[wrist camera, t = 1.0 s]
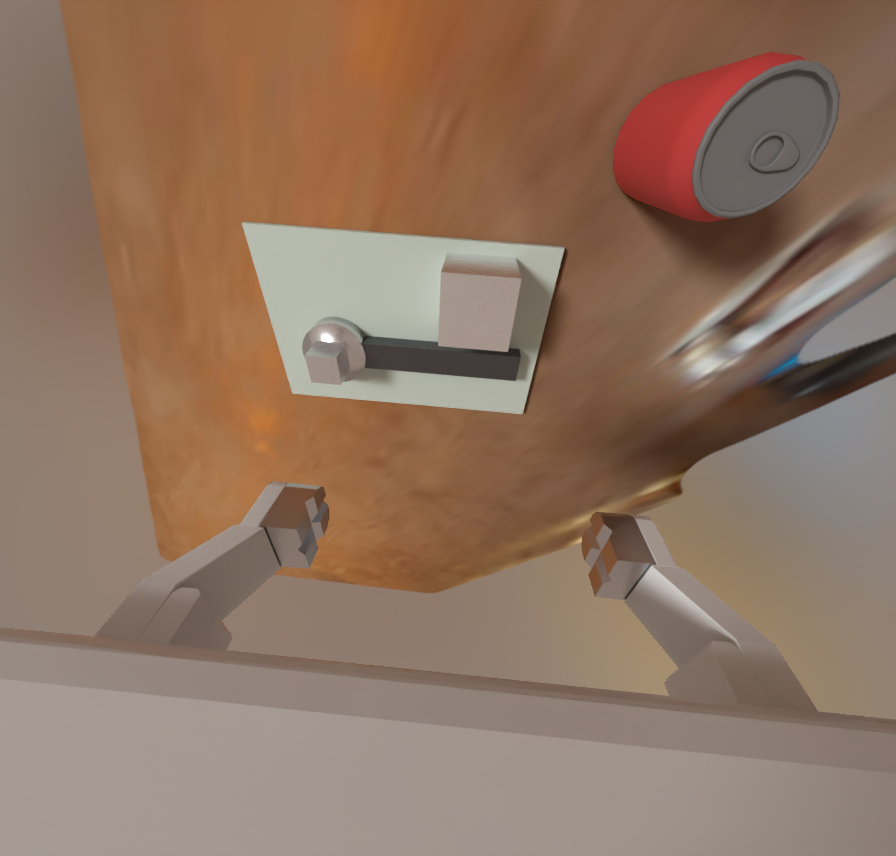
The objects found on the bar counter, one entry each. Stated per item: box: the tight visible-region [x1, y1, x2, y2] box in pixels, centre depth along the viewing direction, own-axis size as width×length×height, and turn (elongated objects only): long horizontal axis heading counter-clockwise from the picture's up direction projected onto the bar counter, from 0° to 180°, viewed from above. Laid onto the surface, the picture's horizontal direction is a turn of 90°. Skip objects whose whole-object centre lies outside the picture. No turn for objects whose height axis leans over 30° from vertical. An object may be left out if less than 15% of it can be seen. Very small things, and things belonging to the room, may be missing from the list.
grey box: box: [438, 252, 522, 352], centre depth 29 cm, size 6×6×6 cm
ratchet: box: [302, 317, 521, 385], centre depth 34 cm, size 6×22×5 cm, turn 87°
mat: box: [242, 222, 565, 414], centre depth 35 cm, size 18×28×1 cm, turn 87°
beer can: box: [613, 52, 840, 222], centre depth 20 cm, size 7×7×12 cm
